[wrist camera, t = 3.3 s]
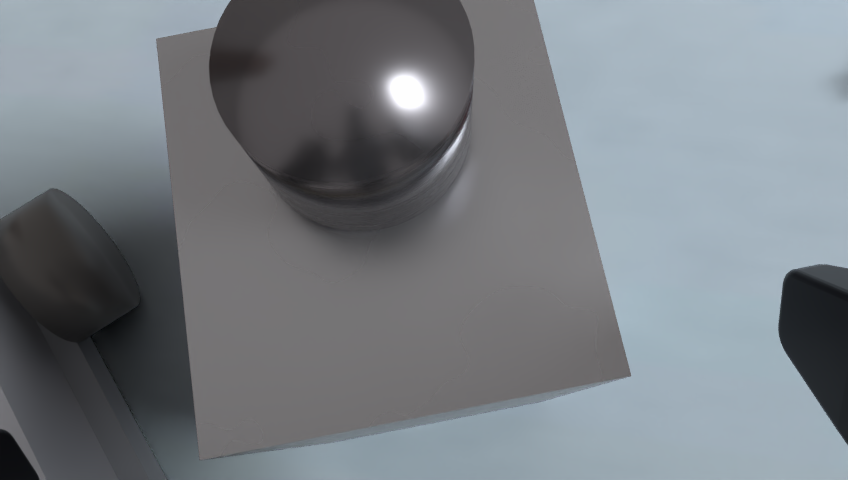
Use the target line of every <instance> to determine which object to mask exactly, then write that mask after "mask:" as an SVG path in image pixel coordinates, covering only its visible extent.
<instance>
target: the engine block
mask: <svg viewBox="0 0 848 480" xmlns="http://www.w3.org/2000/svg"><path fill="white" fill-rule="evenodd" d="M156 41H157V51H158V61H159V70H160V80H161V90H162V100H163V109H164V119H165V129H166V138H167V148H168V158H169V167H170V177H171V187H172V196H173V206H174V216H175V226H176V235H177V245H178V255H179V264H180V274H181V284H182V293H183V303H184V313H185V322H186V332H187V342H188V352H189V361H190V371H191V381H192V390H193V400H194V410H195V419H196V429H197V439H198V448H199V458H200V460H206V459H213V458H221V457H228V456H236V455H243V454H251V453H258V452H266V451H273V450H281V449H288V448H296V447H303V446H311V445H318V444H326V443H333V442H338V441H343V440H348V439H354V438H359V437H364V436H369V435H374V434H379V433H384V432H389V431H395V430H400V429H405V428H410V427H415V426H420V425H425V424H430V423H435V422H441V421H446V420H451V419H456V418H461V417H466V416H471V415H476V414H482V413H487V412H492V411H497V410H502V409H507V408H512V407H517V406H523V405H528V404H533V403H538V402H542V401H546V400H549V399H553V398H556V397H560V396H563V395H567V394H570V393H574V392H577V391H581V390H584V389H588V388H591V387H595V386H598V385H602V384H605V383H609V382H612V381H616V380H619V379H623V378H626V377H630V376H631V373H630V369H629V366H628V362H627V358H626V354H625V350H624V346H623V342H622V339H621V335H620V331H619V327H618V323H617V319H616V315H615V312H614V308H613V304H612V300H611V296H610V292H609V288H608V285H607V281H606V277H605V273H604V269H603V265H602V262H601V258H600V254H599V250H598V246H597V242H596V238H595V235H594V231H593V227H592V223H591V219H590V215H589V211H588V208H587V204H586V200H585V196H584V192H583V188H582V184H581V181H580V177H579V173H578V169H577V165H576V161H575V158H574V154H573V150H572V146H571V142H570V138H569V134H568V131H567V127H566V123H565V119H564V115H563V111H562V107H561V104H560V100H559V96H558V92H557V88H556V84H555V80H554V77H553V73H552V69H551V65H550V61H549V57H548V54H547V50H546V46H545V42H544V38H543V34H542V30H541V27H540V23H539V19H538V15H537V11H536V7H535V3H534V0H231V1H230V3H229V4H228V5H227V7H226V9H225V11H224V13H223V15H222V16H221V18H220V20H219V23H218V25H217V27H215V28H210V29H204V30H199V31H194V32H189V33H184V34H178V35H173V36H168V37H163V38H158V39H156Z"/></svg>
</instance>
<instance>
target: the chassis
mask: <svg viewBox="0 0 848 480" xmlns="http://www.w3.org/2000/svg"><path fill="white" fill-rule="evenodd" d="M139 303H140V293H139V289H138V286H137V283H136V281H135V278H134V276H133V274H132V272H131V270H130V268H129V266H128V264H127V263H126V261H125V259H124V258H123V256H122V254H121V253H120V251H119V250H118V248H117V247H116V245H115V244H114V242H113V241H112V240H111V238H110V237H109V236H108V234H107V233H106V232H105V231H104V229H103V228H102V227H101V226H100V225H99V223H98V222H97V221H96V220H95V219H94V218H93V217H92V216H91V215H90V214H89V213H88V212H87V210H85V209H84V208H83V207H82V206H81V205H80V204H79V203H78V202H77V201H76V200H74V199H73V198H72V197H70V196H69V195H67V194H66V193H64V192H62V191H60V190H58V189H49V190H48V191H46V192H44V193H43V194H41V195H39V196H38V197H36V198H34V199H33V200H31V201H29V202H28V203H26V204H25V205H23V206H21V207H20V208H18V209H16V210H15V211H13V212H11V213H10V214H8V215H6V216H5V217H3V218H2V219H0V429H3V430H6V431H7V432H9V433H10V434H11V435H12V436H13V437H14V439H15V440H16V442H17V444H18V445H19V447H20V448H21V450H22V451H23V453H24V454H25V456H26V457H27V459H28V460H29V462H30V463H31V465H32V466H33V468H34V469H35V471H36V473H37V474H38V476H39V479H40V480H167V478H166V477H165V475H164V473H163V471H162V469H161V467H160V465H159V464H158V462H157V460H156V458H155V456H154V454H153V452H152V451H151V449H150V447H149V445H148V443H147V441H146V439H145V438H144V436H143V434H142V432H141V430H140V428H139V426H138V424H137V423H136V421H135V419H134V417H133V415H132V413H131V411H130V410H129V408H128V406H127V404H126V402H125V400H124V398H123V397H122V395H121V393H120V391H119V389H118V387H117V385H116V384H115V382H114V380H113V378H112V376H111V374H110V372H109V371H108V369H107V367H106V365H105V363H104V361H103V359H102V357H101V356H100V354H99V352H98V350H97V348H96V346H95V344H94V343H93V341H92V339H91V337H90V336H91V335H93V334H94V333H96V332H97V331H99V330H101V329H102V328H104V327H105V326H107V325H108V324H110V323H112V322H113V321H115V320H116V319H118V318H119V317H121V316H123V315H124V314H126V313H127V312H129V311H130V310H132V309H134V308H135V307H137V306H138V305H139Z"/></svg>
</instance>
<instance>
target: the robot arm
mask: <svg viewBox="0 0 848 480" xmlns="http://www.w3.org/2000/svg"><path fill="white" fill-rule="evenodd" d="M778 330H779V337H780V341H781V344H782V346H783V348H784V350H785V352H786V354H787V355H788V357H789V358H790V360H791V361H792V363H793V364H794V366H795V367H796V369H797V370H798V372H799V373H800V375H801V376H802V378H803V379H804V381H805V382H806V384H807V385H808V387H809V388H810V390H811V391H812V393H813V394H814V396H815V397H816V399H817V400H818V402H819V403H820V405H821V406H822V408H823V409H824V411H825V412H826V414H827V415H828V417H829V418H830V420H831V421H832V423H833V424H834V426H835V427H836V429H837V430H838V432H839V433H840V435H841V436H842V437H843V439H844V440H845V442H846V443H847V444H848V268H842V267H837V266H832V265H823V264H819V265H814V266H809V267H804V268H799V269H794V270H791V271H790V272H788V273H787V274H786V276H785V278H784V281H783V288H782V297H781V307H780V316H779V327H778ZM0 480H40V479H39V476H38V474H37V473H36V471H35V469H34V468H33V466H32V465H31V463H30V462H29V460H28V459H27V457H26V456H25V454H24V453H23V451H22V450H21V448H20V447H19V445H18V444H17V442H16V440H15V439H14V437H13V436H12V435H11V434H10V433H9V432H7V431H6V430H3V429H0Z"/></svg>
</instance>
